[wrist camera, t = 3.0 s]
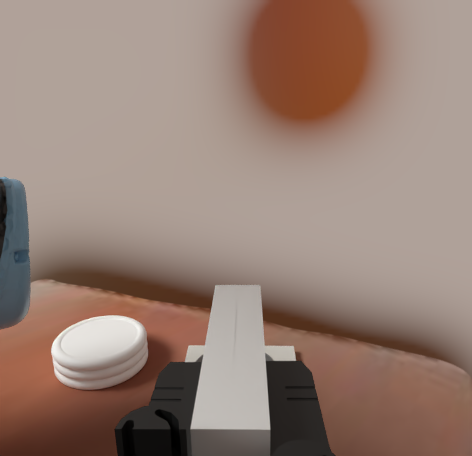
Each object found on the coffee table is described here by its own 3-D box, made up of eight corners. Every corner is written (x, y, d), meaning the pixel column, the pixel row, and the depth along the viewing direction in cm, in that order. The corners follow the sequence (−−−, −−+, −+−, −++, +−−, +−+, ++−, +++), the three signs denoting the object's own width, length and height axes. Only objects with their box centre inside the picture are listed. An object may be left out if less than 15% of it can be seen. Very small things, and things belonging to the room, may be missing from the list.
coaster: (93, 333, 54) (90, 308, 53) (164, 347, 51) (162, 320, 50) (34, 381, 45) (29, 352, 44) (115, 401, 42) (112, 370, 41)
